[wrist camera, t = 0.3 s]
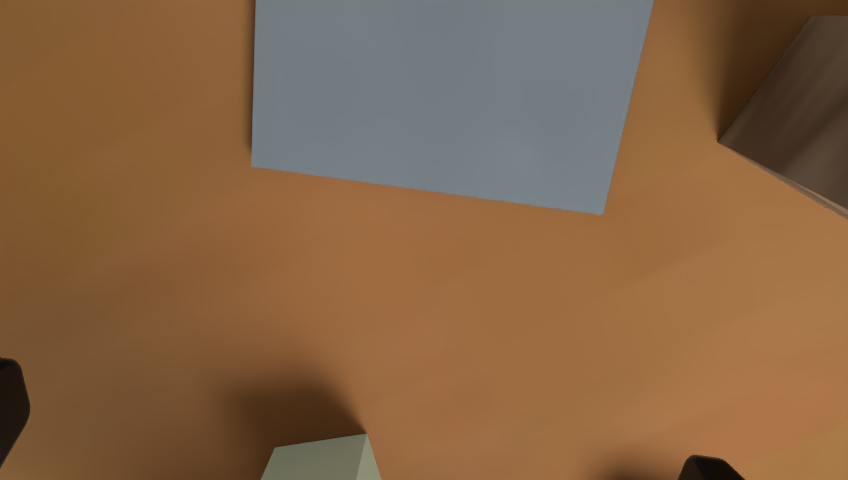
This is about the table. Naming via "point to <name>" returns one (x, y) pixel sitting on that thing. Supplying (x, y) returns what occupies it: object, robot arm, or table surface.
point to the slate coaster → (449, 94)
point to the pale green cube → (324, 460)
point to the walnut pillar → (802, 116)
